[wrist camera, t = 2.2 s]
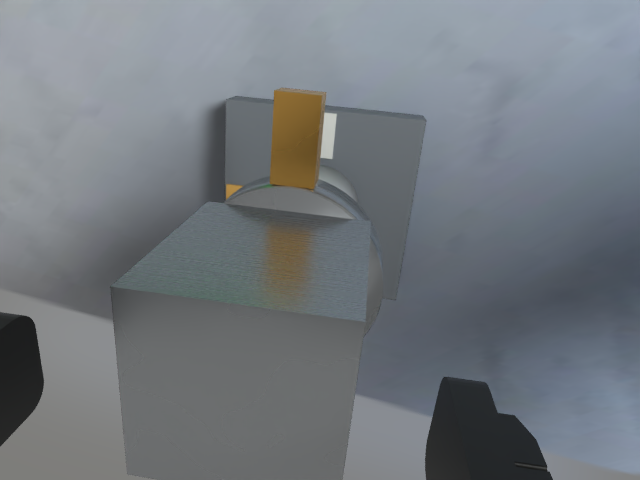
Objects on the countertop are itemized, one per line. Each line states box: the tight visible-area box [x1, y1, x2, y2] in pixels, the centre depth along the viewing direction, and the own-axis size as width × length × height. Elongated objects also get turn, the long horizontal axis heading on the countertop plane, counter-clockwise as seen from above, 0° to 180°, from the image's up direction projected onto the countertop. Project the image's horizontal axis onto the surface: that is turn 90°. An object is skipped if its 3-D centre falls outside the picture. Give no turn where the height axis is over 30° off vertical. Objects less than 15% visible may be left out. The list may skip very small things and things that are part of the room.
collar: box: [110, 88, 383, 480], centre depth 11 cm, size 6×8×7 cm
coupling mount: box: [225, 96, 426, 300], centre depth 18 cm, size 8×8×7 cm
